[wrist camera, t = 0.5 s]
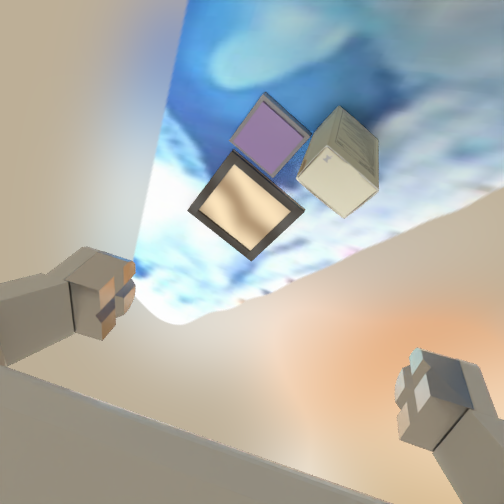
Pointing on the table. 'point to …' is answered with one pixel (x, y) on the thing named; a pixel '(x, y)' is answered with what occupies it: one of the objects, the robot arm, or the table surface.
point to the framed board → (244, 207)
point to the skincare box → (341, 164)
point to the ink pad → (269, 135)
